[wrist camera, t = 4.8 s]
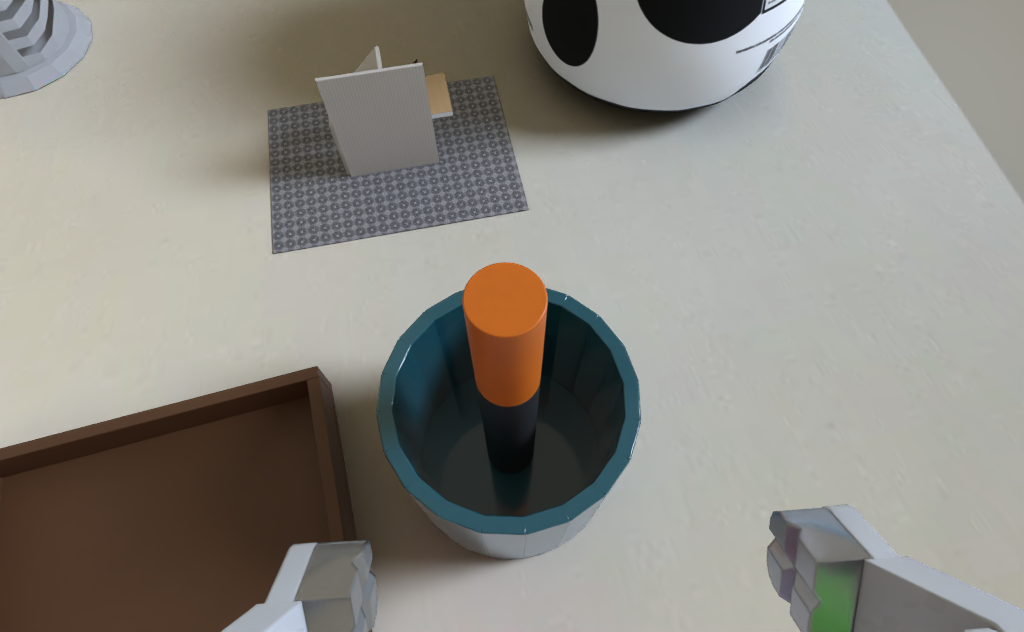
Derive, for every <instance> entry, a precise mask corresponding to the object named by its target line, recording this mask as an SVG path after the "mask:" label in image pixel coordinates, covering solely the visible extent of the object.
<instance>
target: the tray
mask: <svg viewBox="0 0 1024 632" xmlns="http://www.w3.org/2000/svg"><path fill="white" fill-rule="evenodd" d="M356 540H357V537H356V531H355V525H354V519H353V513H352V507H351V501H350V495H349V489H348V483H347V477H346V471H345V465H344V459H343V453H342V447H341V441H340V435H339V429H338V423H337V417H336V411H335V405H334V398H333V392H332V386H331V383H330V382H329V381H328V380H327V378H326V377H325V376H324V374H323V373H322V372H321V371H320V369H319V368H318V367H317V366H315V367H312V368H308V369H304V370H300V371H296V372H292V373H289V374H285V375H281V376H277V377H273V378H269V379H265V380H262V381H258V382H254V383H250V384H246V385H242V386H239V387H235V388H231V389H227V390H223V391H219V392H216V393H212V394H208V395H204V396H200V397H196V398H193V399H189V400H185V401H181V402H177V403H173V404H170V405H166V406H162V407H158V408H154V409H150V410H147V411H143V412H139V413H135V414H131V415H127V416H123V417H120V418H116V419H112V420H108V421H104V422H100V423H97V424H93V425H89V426H85V427H81V428H77V429H74V430H70V431H66V432H62V433H58V434H54V435H51V436H47V437H43V438H39V439H35V440H31V441H28V442H24V443H20V444H16V445H12V446H8V447H5V448H1V449H0V632H221V631H222V630H224V629H225V628H226V627H228V626H229V625H230V624H232V623H233V622H234V621H235V620H237V619H238V618H239V617H241V616H242V615H243V614H245V613H246V612H247V611H248V610H250V609H251V608H252V607H254V606H255V605H256V604H264V603H265V600H266V598H267V596H268V594H269V592H270V589H271V587H272V585H273V583H274V580H275V578H276V576H277V574H278V571H279V569H280V567H281V565H282V563H283V560H284V558H285V556H286V554H287V551H288V549H289V548H290V547H291V546H292V545H293V544H302V543H319V542H336V541H356ZM369 632H372V629H371V630H370V631H369Z"/></svg>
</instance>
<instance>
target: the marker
mask: <svg viewBox="0 0 1024 632" xmlns="http://www.w3.org/2000/svg"><path fill="white" fill-rule="evenodd" d="M462 303H463V310H464V316H465V322H466V328H467V334H468V340H469V346H470V351H471V357H472V363H473V369H474V375H475V381H476V387H477V392H478V398H479V404H480V410H481V416H482V422H483V428H484V433H485V439H486V445H487V451H488V456H489V460H490V462H491V463H492V465H493V466H494V467H495V468H496V469H497V470H499V471H501V472H503V473H508V474H513V473H518V472H520V471H522V470H524V469H525V468H526V467H527V466H528V465H529V464H530V462H531V461H532V458H533V454H534V444H535V433H536V422H537V412H538V401H539V390H540V379H541V369H542V358H543V348H544V337H545V327H546V316H547V305H548V296H547V291H546V288H545V286H544V284H543V282H542V280H541V279H540V278H539V277H538V276H537V275H536V274H535V273H534V272H533V271H531V270H530V269H528V268H526V267H524V266H522V265H519V264H515V263H505V262H504V263H496V264H492V265H489V266H486V267H484V268H482V269H481V270H479V271H478V272H477V273H475V274H474V275H473V276H472V277H471V279H470V280H469V281H468V283H467V285H466V287H465V289H464V292H463V298H462Z"/></svg>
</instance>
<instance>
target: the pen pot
mask: <svg viewBox="0 0 1024 632" xmlns="http://www.w3.org/2000/svg"><path fill="white" fill-rule="evenodd" d="M546 291H547V296H548V305H547V316H546V327H545V337H544V348H543V358H542V369H541V379H540V390H539V401H538V412H537V422H536V433H535V444H534V454H533V458H532V461H531V462H530V464H529V465H528V466H527V467H526V468H525V469H524V470H522V471H520V472H518V473H513V474H508V473H503V472H501V471H499V470H497V469H496V468H495V467H494V466H493V465H492V463H491V462H490V460H489V456H488V451H487V445H486V439H485V433H484V428H483V422H482V416H481V410H480V404H479V398H478V392H477V387H476V381H475V375H474V369H473V363H472V357H471V351H470V346H469V340H468V334H467V328H466V322H465V316H464V310H463V303H462V298H463V292H464V290H463V291H459V292H458V293H457V292H456V293H455V294H453V295H451V296H449V297H448V298H446V299H444V300H443V301H441V302H439V303H437V304H436V305H434V306H432V307H431V308H429V309H427V310H426V311H425V312H423V313H422V315H421V316H420V317H419V318H418V319H417V320H416V321H415V322H414V323H413V324H412V325H411V326H410V327H409V328H408V329H407V330H406V332H405V333H404V334H403V335H402V336H401V337H400V338H399V340H398V341H397V343H396V345H395V347H394V349H393V351H392V353H391V355H390V357H389V359H388V361H387V363H386V365H385V367H384V369H383V372H382V375H381V381H380V388H379V395H378V402H377V410H376V412H377V413H376V416H377V421H378V426H379V431H380V436H381V441H382V446H383V451H384V453H385V456H386V457H387V459H388V461H389V463H390V464H391V466H392V468H393V469H394V471H395V473H396V475H397V476H398V478H399V480H400V481H401V483H402V485H403V486H404V488H405V489H406V490H407V492H408V493H409V494H410V495H411V497H412V498H413V499H414V500H415V501H416V503H417V504H418V505H419V506H420V508H421V509H422V510H423V511H424V512H425V514H426V515H427V516H428V517H429V519H430V520H431V521H432V522H433V523H434V524H435V525H436V526H437V527H438V528H439V529H440V530H442V531H443V532H444V533H445V534H446V535H447V536H448V537H449V538H451V539H452V540H453V541H455V542H456V543H457V544H459V545H460V546H463V547H465V548H467V549H469V550H471V551H473V552H476V553H479V554H482V555H485V556H490V557H495V558H504V559H517V558H527V557H532V556H536V555H540V554H543V553H545V552H548V551H550V550H553V549H555V548H557V547H559V546H560V545H562V544H564V543H565V542H567V541H568V540H569V539H571V538H572V537H573V536H575V535H576V534H577V533H578V532H579V531H581V530H582V529H583V528H584V527H585V526H586V524H587V523H588V521H589V520H590V519H591V517H592V516H593V514H594V513H595V511H596V510H597V509H598V507H599V506H600V504H601V503H602V501H603V500H604V498H605V497H606V495H607V494H608V493H609V491H610V490H611V488H612V487H613V485H614V484H615V482H616V481H617V479H618V478H619V476H620V475H621V474H622V472H623V471H624V469H625V468H626V466H627V465H628V463H629V461H630V459H631V456H632V453H633V449H634V445H635V442H636V438H637V435H638V431H639V427H640V424H641V410H640V394H639V383H638V378H637V376H636V373H635V371H634V368H633V366H632V363H631V361H630V358H629V356H628V353H627V351H626V348H625V346H623V343H622V342H621V341H620V340H619V339H618V337H617V336H616V335H615V334H614V333H613V331H612V330H611V329H610V328H609V326H608V325H607V324H606V323H605V322H604V320H603V319H602V318H601V317H599V315H598V314H596V313H595V312H593V311H592V310H590V309H589V308H587V307H586V306H584V305H583V304H581V303H580V302H578V301H576V300H575V299H573V298H572V297H570V296H567V294H564V293H560V292H557V291H554V290H551V289H548V288H546Z"/></svg>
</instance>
